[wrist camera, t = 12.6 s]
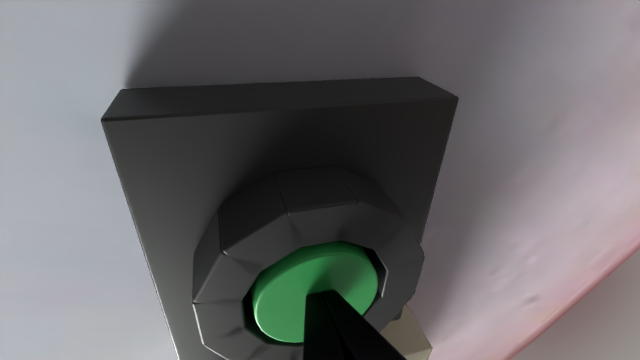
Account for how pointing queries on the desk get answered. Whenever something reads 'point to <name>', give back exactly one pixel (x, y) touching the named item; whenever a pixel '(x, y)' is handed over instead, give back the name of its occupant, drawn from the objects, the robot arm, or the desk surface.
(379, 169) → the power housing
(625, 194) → the desk surface
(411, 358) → the panel
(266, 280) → the power button
